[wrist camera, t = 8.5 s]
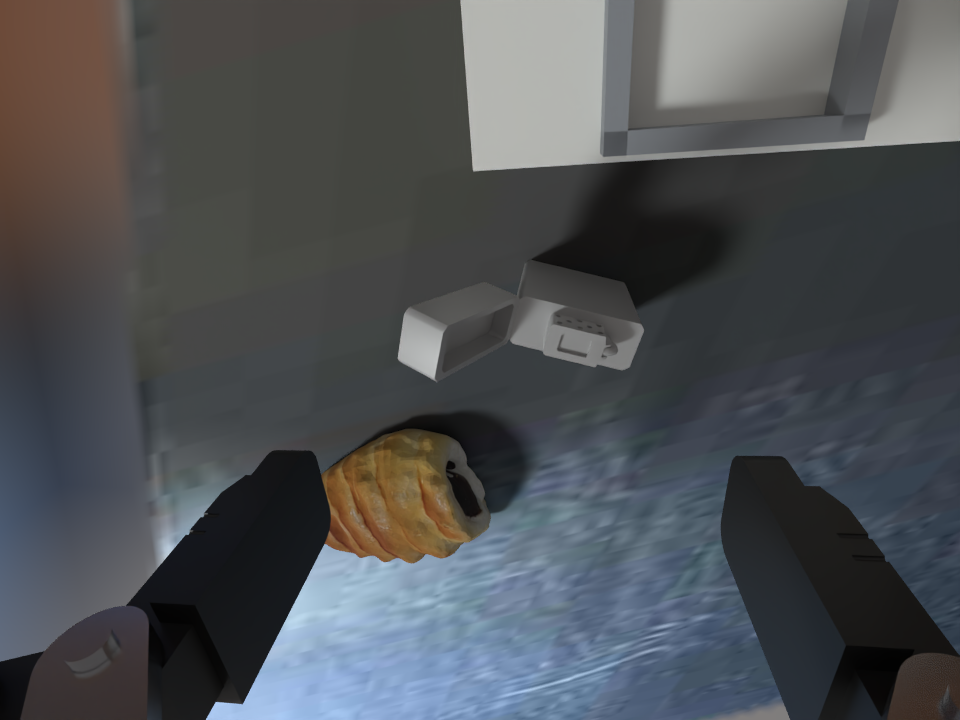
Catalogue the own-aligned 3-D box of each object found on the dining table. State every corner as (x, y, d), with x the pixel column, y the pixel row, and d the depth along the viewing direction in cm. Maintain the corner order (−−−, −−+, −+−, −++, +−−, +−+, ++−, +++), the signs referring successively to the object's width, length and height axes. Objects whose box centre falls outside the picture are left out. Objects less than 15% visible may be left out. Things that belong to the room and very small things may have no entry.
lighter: (628, 283, 20) (669, 382, 13) (614, 322, 21) (645, 436, 14) (453, 241, 20) (399, 316, 13) (446, 282, 21) (391, 373, 14)
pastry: (353, 547, 29) (327, 605, 26) (289, 456, 27) (251, 508, 23) (502, 509, 26) (495, 568, 23) (447, 405, 24) (429, 454, 20)
